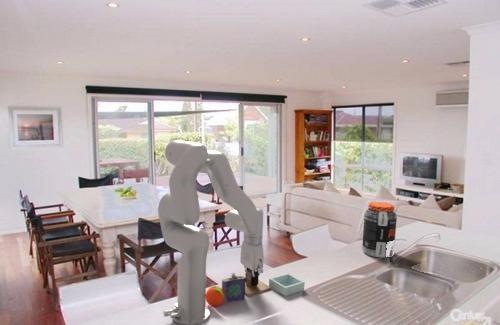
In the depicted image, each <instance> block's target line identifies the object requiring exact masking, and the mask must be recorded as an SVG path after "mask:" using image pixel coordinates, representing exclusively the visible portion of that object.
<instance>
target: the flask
mask: <svg viewBox="0 0 500 325" xmlns="http://www.w3.org/2000/svg"><path fill="white" fill-rule="evenodd" d="M245 280H246V278H245V276H243V275H238V276H237V275H235V272H232V273H231V277H227V278H224V279H222V280H221V289H222V290H223V292H224V295H225V297H224V301H223V302H222V303H221V304H228V303H232V302H238V301H244V300H245V299H246V295H245Z"/></svg>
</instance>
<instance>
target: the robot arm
mask: <svg viewBox="0 0 500 325" xmlns="http://www.w3.org/2000/svg"><path fill="white" fill-rule="evenodd" d="M164 156H165V158H166V160H167V162H168V163H170V164H171V165H173V166H175V167H174V168H173V170H172V172H171V173H170V177H169V180H168V186H169V192H167V193H165V194H164V195H162V197H161V198H160V200H159V202H158V206H157V212H158V213H157V214H158V220H159V223H160V224H159V225H160V228H161V234H162V238H163V240H164V242H165V244H166V245H167V246H169V247H170V248H172V249H175V250H176V251H179V252H180V253H181V256H180V258H179V260H178V263H177V300H176V301H177V303H174V307H172V308H171V309H167V310H164V311H163V312H162V313H163V317H164V318H165V317H166V318H167V317H170V319H172V320H173V321H174V322H175V323H177V324H180V325H201V324H204V323H205V322H207V321H208V320H209V318H210V316H211V310H210V309H209V308H208V307H207V306H206V304H207V301H206V292H207V291H206V289H207V288H206V286H207V257H208V251H209V246H210V236H209V234H208V233H207V232H206V231H205V230H204V229H203V228H201V227H199V226H197V225H196V224H197V223H198V221H199V220H200V218H201V217H200V216H201V208H200V207H201V206H200V202H199V197H198V190H197V178H198V175H199V173H201V174H205V175H207V177H208V178H209V181H210V184H211V186H212V188H213V191H214V192H215V195H216V197H217V198H219V200H221V201H223V203H225V204H227V205H228V206H229V207H231V208H232V209H231V210H229V211H228V212H227V213H226V214H225V216H224V223H225V225H226V227H228V228H229V229H232V230H234V231H237V232H242V233H243V240H242V243H241V247H240V248H241V249H240V264H241V265H243V266H244V272H245V273H246V272H247V270H252V276H251V286H255V285H258V280H259V276H260V275H261V274H263V273H264V270H263V269H264V247H263V237H264V235H263V234H264V211H263V209H262V208H261V207H257V206H256V205H255V203H254V202H253V200H252V199H251V198H250V197H249V196H248V194H247V193H246V192H245V191H244V190H243V188H241V187H240V186H239V185H238V183H237V180H236V177H235V174H234V172H233V169H232V167H231V164H230V162H229V160H228V158H227V156H226V154H225V153H223V152H221V151H218V150H209V149H208V148H207V146H205V145H204V144H203V143H200V142H197V141H187V140H178V139H177V140H173V141H170V142H169V143H168V144H167V145H166V146H165V150H164ZM255 271H256V272H255ZM244 277H245V278H246V274H245V276H244ZM245 282H246V280H245Z"/></svg>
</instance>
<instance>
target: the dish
mask: <svg viewBox="0 0 500 325" xmlns="http://www.w3.org/2000/svg"><path fill="white" fill-rule="evenodd" d="M268 279H269V281H268V286H269V287H271V290H273V291H276V292H277V293H279V295H282V296H283V297H288V296H291V295H294V294H296V293H300V292H304V291H305V281H303V280H301V279H300V278H298V277H296V276H294V275H292V274H291V273H284V274H280V275H277V276H273V277H269V278H268Z"/></svg>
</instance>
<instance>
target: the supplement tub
mask: <svg viewBox="0 0 500 325" xmlns="http://www.w3.org/2000/svg"><path fill="white" fill-rule="evenodd" d="M367 207H368V208H367V209H366V210H365V213H364V215H363V216H364V218H363V232H362V245H361V247H362V248H361V249H362V251H363V253H365V254H366V255H369V256H371V257H374V258H381V259H383V258H384V259H385V258H387V257H386V250H387V248H386V244H387V242H389V241H393V240H395V241H396V230H397V220H398V219H397V214H396V213H395V212H394V211H395V206H394V205H393V204H392V203H388V202H380V201H371V202H369V203H368V206H367Z"/></svg>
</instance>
